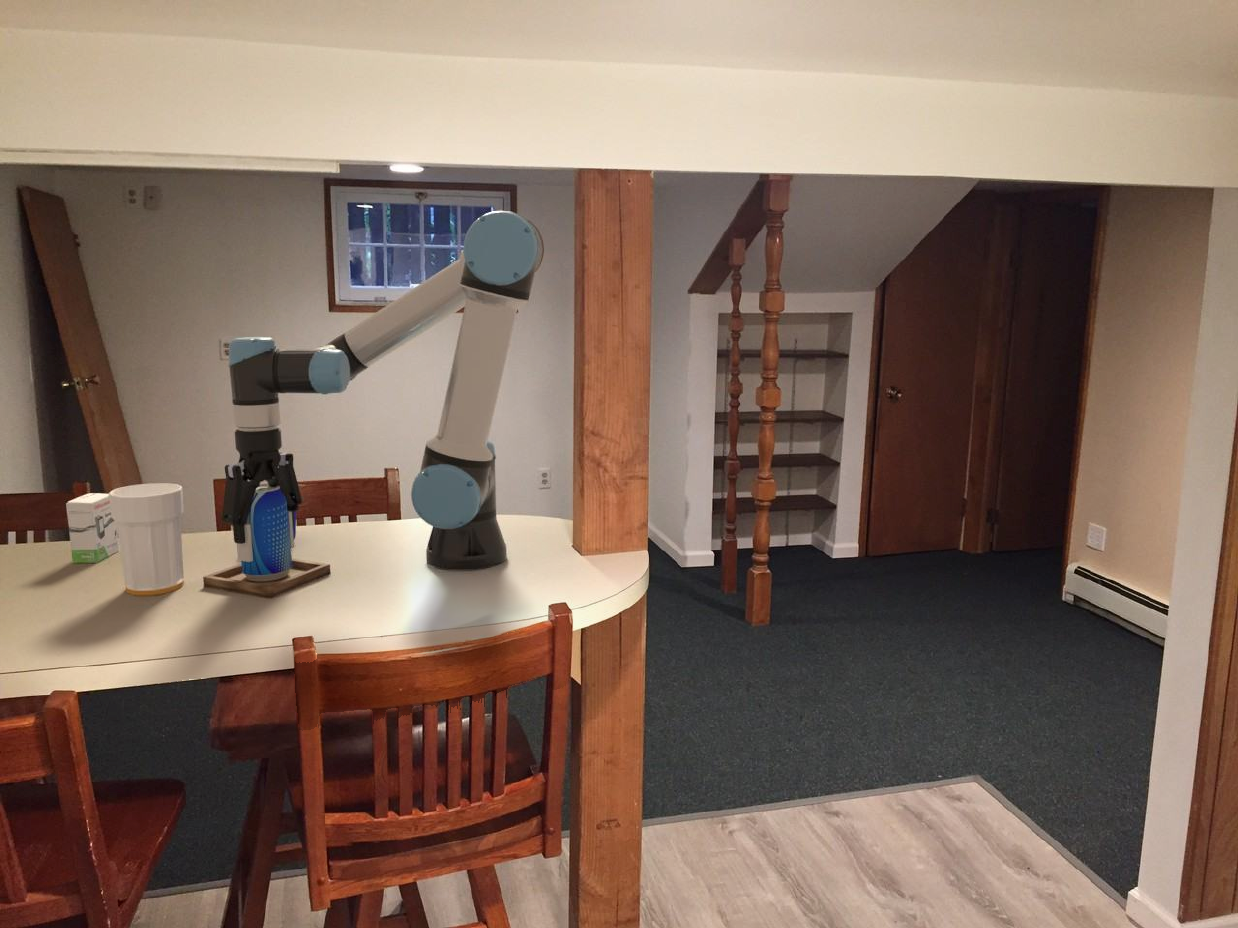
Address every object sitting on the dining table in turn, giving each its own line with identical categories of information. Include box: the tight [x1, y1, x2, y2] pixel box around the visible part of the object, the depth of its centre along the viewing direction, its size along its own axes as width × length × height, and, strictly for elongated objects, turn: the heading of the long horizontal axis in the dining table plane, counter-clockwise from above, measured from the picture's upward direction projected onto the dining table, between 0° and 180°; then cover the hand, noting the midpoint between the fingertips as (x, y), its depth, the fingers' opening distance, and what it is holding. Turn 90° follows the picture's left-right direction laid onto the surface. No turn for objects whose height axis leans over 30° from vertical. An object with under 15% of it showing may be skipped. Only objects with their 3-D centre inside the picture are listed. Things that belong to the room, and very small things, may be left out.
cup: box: [108, 482, 185, 597], centre depth 168 cm, size 11×11×17 cm
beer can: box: [239, 483, 293, 582], centre depth 172 cm, size 8×8×16 cm
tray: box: [202, 558, 331, 599], centre depth 173 cm, size 15×15×2 cm
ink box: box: [65, 492, 120, 564], centre depth 187 cm, size 9×5×12 cm, turn 0°
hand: (266, 552), depth 173 cm, fingers open, 9 cm apart
